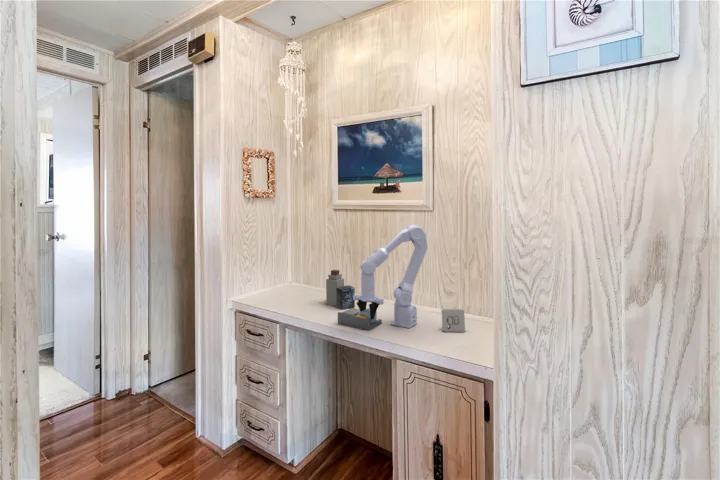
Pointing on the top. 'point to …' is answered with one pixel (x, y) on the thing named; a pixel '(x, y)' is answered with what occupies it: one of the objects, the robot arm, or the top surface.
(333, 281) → the perfume bottle
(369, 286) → the robot arm
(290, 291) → the top surface
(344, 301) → the box
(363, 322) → the rack bay
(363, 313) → the pale blue tall block
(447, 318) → the electrical switch
